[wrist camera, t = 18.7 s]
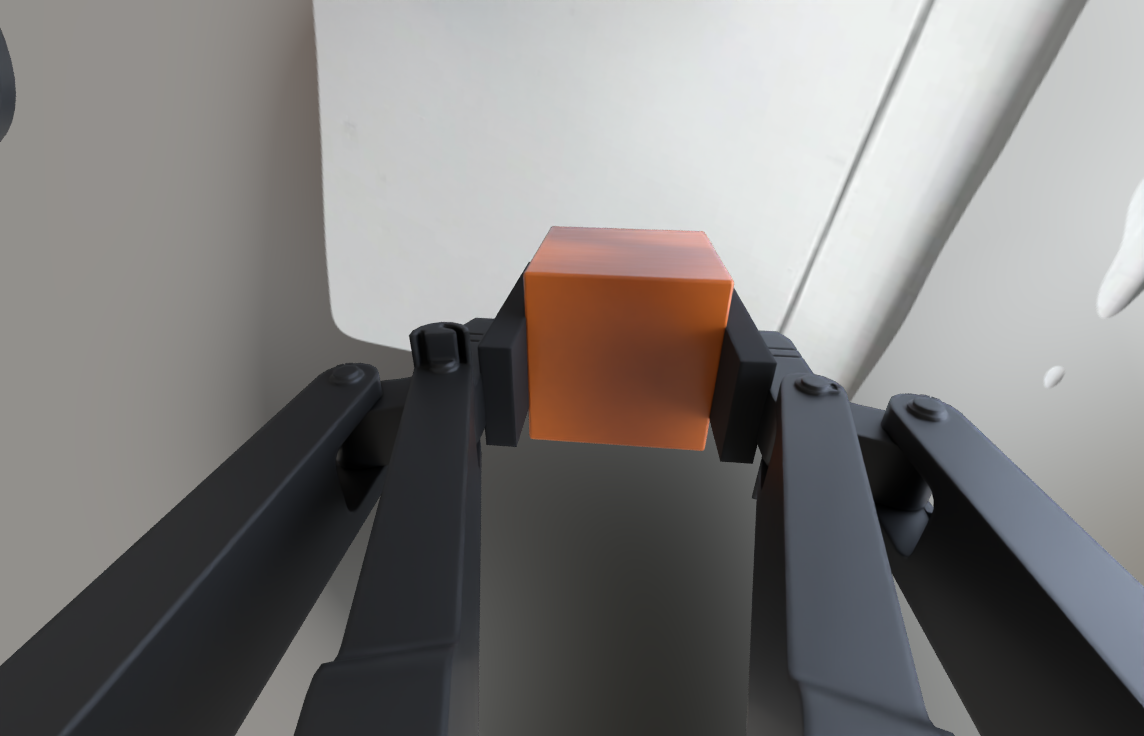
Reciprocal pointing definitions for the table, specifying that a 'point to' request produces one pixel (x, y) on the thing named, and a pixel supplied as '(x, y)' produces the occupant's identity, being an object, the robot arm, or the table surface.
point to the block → (624, 336)
